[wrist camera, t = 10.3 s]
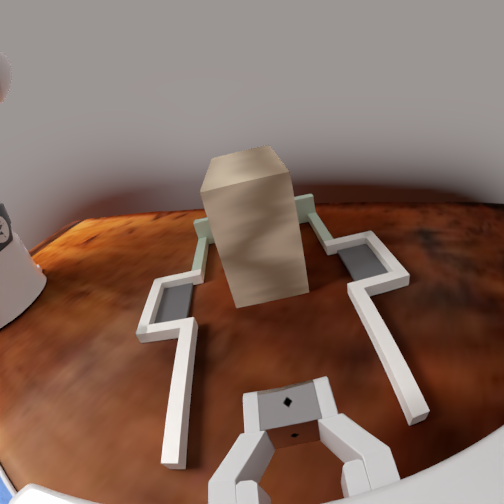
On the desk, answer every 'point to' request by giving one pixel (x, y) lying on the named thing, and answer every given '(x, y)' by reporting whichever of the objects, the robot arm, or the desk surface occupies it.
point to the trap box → (365, 285)
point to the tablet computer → (5, 488)
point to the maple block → (255, 226)
